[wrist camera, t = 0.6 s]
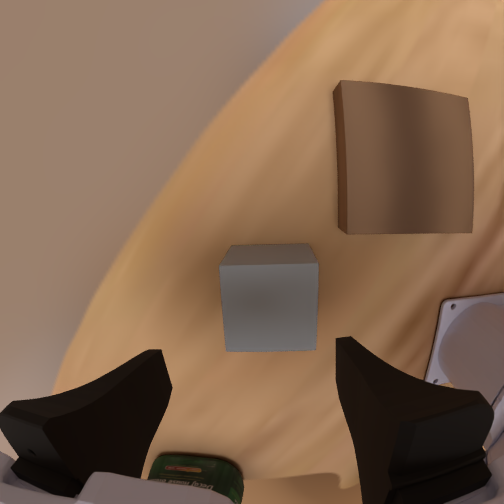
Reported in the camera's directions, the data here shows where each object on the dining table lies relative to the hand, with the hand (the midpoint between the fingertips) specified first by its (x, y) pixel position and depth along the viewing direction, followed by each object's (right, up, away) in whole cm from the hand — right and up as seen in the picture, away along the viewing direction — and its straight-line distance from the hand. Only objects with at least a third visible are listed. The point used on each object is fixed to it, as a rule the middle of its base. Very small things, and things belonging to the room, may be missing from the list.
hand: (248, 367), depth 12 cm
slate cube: (+1, +3, +9) cm, 10 cm away
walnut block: (+10, +11, +7) cm, 16 cm away
